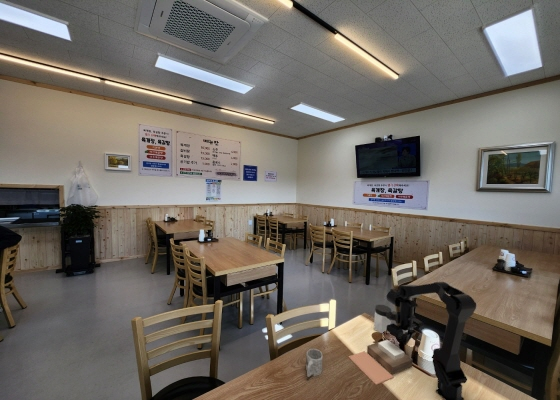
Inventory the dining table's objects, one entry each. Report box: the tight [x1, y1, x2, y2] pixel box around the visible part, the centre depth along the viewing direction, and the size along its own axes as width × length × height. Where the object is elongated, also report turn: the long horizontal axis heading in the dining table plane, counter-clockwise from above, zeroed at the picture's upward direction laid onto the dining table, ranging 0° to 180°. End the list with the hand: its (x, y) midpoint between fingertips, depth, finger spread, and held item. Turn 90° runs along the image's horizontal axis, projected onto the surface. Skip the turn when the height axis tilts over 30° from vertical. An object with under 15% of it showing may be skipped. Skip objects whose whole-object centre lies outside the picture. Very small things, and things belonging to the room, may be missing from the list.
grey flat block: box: [378, 339, 405, 360], centre depth 103 cm, size 9×6×2 cm, turn 24°
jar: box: [373, 304, 392, 334], centre depth 126 cm, size 9×8×12 cm
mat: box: [348, 350, 394, 386], centre depth 98 cm, size 16×10×1 cm, turn 24°
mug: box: [305, 348, 323, 378], centre depth 95 cm, size 10×7×7 cm, turn 149°
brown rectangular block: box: [366, 339, 413, 376], centre depth 103 cm, size 14×12×4 cm
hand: (404, 344), depth 107 cm, fingers closed
